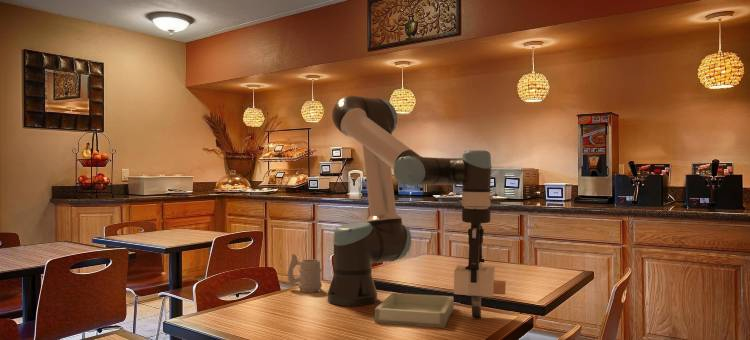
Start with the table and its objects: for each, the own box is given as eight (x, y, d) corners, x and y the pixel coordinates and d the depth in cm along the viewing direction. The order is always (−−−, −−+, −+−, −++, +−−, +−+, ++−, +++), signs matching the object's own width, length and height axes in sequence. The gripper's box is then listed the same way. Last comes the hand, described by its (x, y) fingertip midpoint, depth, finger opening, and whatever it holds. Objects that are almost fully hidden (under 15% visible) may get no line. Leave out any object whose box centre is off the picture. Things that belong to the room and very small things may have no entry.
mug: (318, 293, 170) (318, 256, 170) (283, 291, 172) (283, 255, 172) (324, 288, 178) (324, 253, 178) (291, 287, 180) (291, 252, 180)
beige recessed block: (453, 293, 137) (454, 271, 137) (457, 286, 147) (458, 264, 147) (504, 297, 134) (505, 274, 134) (505, 289, 144) (505, 267, 144)
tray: (374, 322, 135) (374, 308, 135) (392, 304, 155) (392, 292, 155) (444, 327, 131) (444, 313, 131) (453, 308, 150) (453, 296, 150)
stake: (468, 318, 140) (468, 291, 140) (469, 315, 142) (469, 289, 142) (483, 319, 139) (483, 292, 139) (484, 316, 141) (484, 290, 141)
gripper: (488, 210, 129) (487, 301, 129) (492, 205, 151) (491, 282, 151) (457, 209, 131) (456, 298, 131) (466, 204, 153) (465, 281, 153)
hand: (475, 290), depth 141 cm, fingers closed on beige recessed block, 10 cm apart
